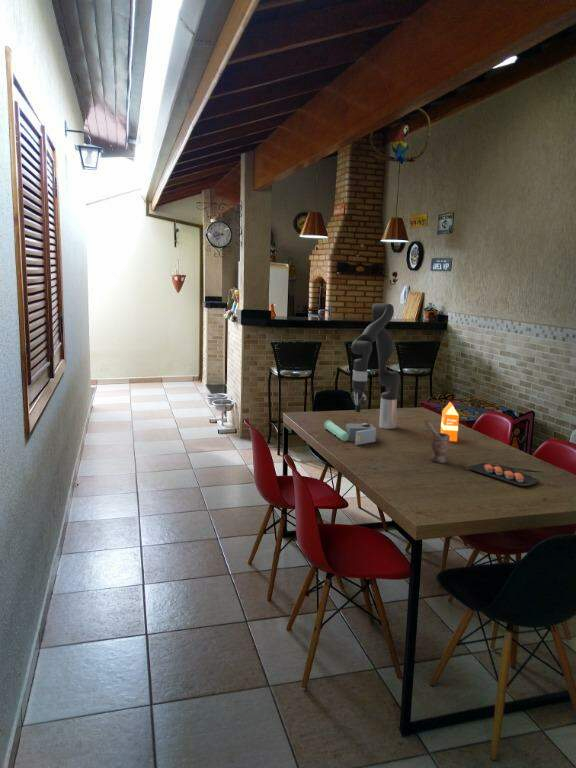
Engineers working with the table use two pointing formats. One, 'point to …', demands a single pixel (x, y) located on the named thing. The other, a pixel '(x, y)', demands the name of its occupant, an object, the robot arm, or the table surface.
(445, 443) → the mortar and pestle
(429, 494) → the table surface
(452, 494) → the table surface
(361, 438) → the side door
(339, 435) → the mint green bar
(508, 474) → the sushi plate
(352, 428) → the camera case
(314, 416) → the table surface
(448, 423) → the orange juice
